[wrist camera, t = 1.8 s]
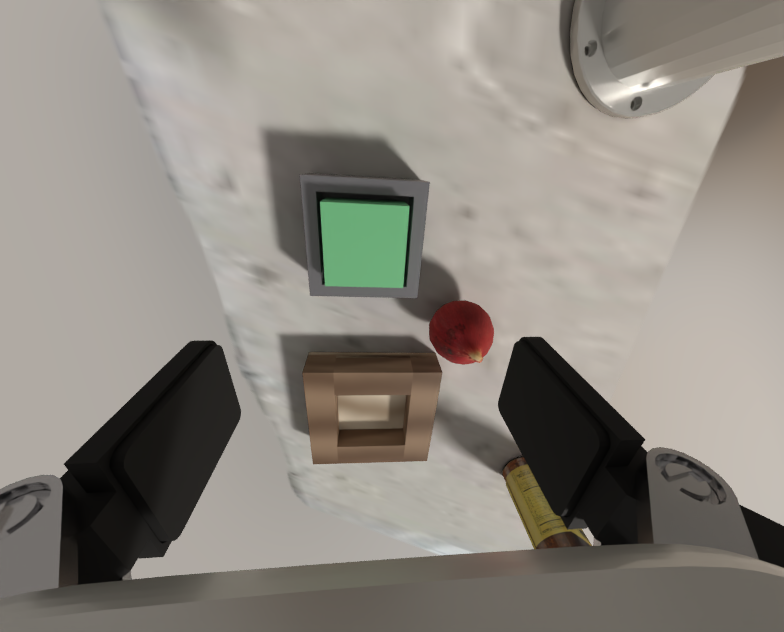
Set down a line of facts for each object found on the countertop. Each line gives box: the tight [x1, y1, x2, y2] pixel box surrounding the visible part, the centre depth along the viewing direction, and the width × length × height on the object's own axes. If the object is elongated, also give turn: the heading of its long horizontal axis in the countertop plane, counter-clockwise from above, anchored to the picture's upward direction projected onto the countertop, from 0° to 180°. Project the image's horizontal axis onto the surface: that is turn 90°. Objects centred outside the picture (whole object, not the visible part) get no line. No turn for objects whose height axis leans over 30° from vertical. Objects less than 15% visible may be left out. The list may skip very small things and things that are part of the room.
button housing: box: [300, 173, 430, 298], centre depth 23 cm, size 9×9×4 cm
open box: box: [302, 352, 442, 464], centre depth 33 cm, size 14×14×4 cm
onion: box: [429, 301, 494, 365], centre depth 26 cm, size 6×6×8 cm
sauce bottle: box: [503, 457, 592, 549], centre depth 34 cm, size 6×6×20 cm
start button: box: [320, 197, 410, 288], centre depth 22 cm, size 6×6×3 cm
